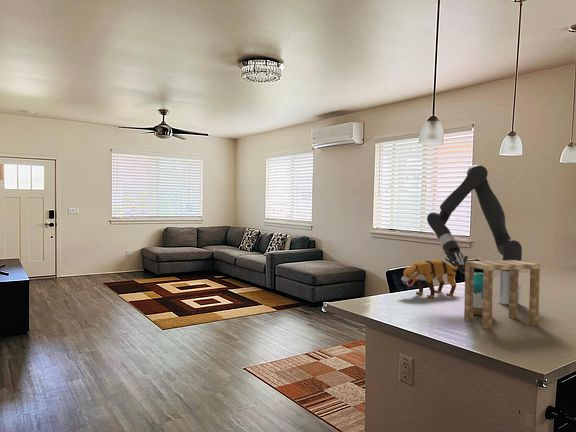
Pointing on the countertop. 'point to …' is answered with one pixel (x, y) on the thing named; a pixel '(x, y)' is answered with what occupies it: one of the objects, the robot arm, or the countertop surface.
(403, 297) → the countertop surface
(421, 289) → the toy
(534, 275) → the riser shelf
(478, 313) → the vase
